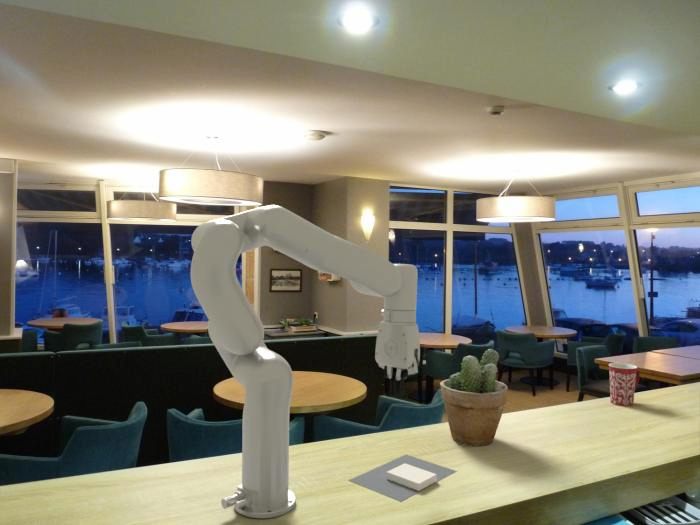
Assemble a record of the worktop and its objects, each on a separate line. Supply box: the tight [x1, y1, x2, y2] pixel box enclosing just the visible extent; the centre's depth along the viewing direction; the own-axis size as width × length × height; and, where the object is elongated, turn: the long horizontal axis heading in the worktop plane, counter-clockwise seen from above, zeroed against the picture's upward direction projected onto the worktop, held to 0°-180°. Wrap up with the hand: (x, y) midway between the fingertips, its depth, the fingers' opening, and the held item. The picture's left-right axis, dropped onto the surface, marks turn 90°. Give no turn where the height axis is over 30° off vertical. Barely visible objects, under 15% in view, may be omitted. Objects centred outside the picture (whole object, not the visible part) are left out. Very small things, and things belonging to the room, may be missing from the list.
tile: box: [386, 463, 437, 492], centre depth 124 cm, size 7×2×9 cm
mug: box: [608, 362, 640, 407], centre depth 193 cm, size 13×9×14 cm
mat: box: [348, 454, 457, 503], centre depth 127 cm, size 22×15×1 cm
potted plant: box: [439, 348, 509, 447], centre depth 153 cm, size 18×19×25 cm
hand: (396, 395), depth 127 cm, fingers closed
